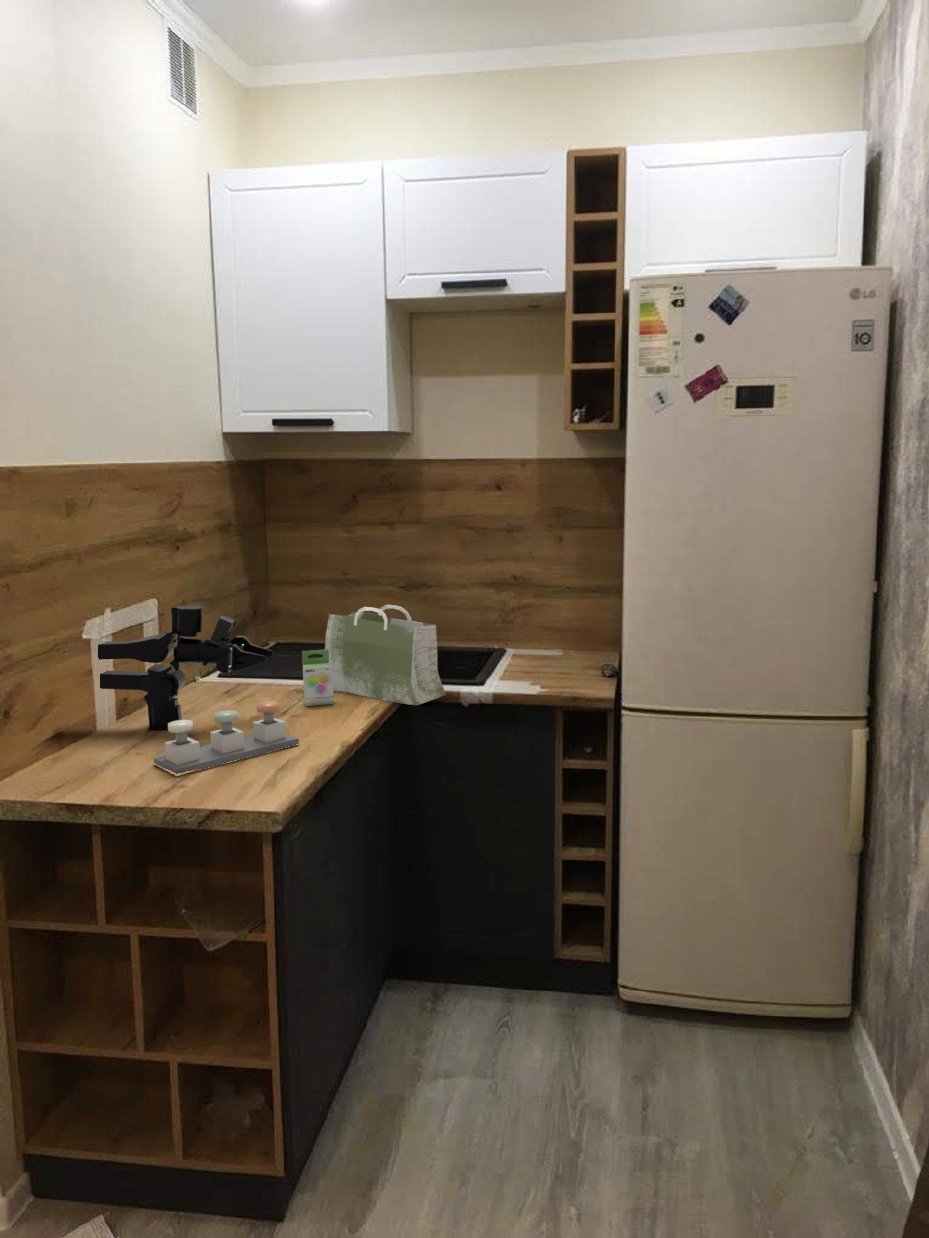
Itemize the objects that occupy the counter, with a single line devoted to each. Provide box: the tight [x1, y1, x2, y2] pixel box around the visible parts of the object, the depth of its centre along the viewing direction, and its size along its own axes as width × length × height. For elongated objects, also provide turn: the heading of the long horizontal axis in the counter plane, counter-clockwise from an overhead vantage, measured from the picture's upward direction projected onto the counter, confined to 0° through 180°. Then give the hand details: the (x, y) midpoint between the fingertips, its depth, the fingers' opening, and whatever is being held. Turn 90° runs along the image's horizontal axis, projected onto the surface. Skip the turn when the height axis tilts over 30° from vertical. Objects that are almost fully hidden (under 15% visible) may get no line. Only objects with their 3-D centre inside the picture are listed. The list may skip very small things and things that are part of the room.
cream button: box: [167, 719, 194, 746], centre depth 189 cm, size 5×5×5 cm
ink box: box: [301, 649, 335, 707], centre depth 235 cm, size 7×4×13 cm, turn 105°
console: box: [153, 717, 300, 774], centre depth 196 cm, size 10×28×5 cm, turn 132°
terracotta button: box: [256, 700, 281, 725], centre depth 202 cm, size 5×5×5 cm
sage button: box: [213, 709, 239, 735], centre depth 195 cm, size 5×5×5 cm
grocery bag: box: [324, 604, 446, 706], centre depth 244 cm, size 32×14×23 cm, turn 54°
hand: (269, 655), depth 217 cm, fingers open, 9 cm apart
